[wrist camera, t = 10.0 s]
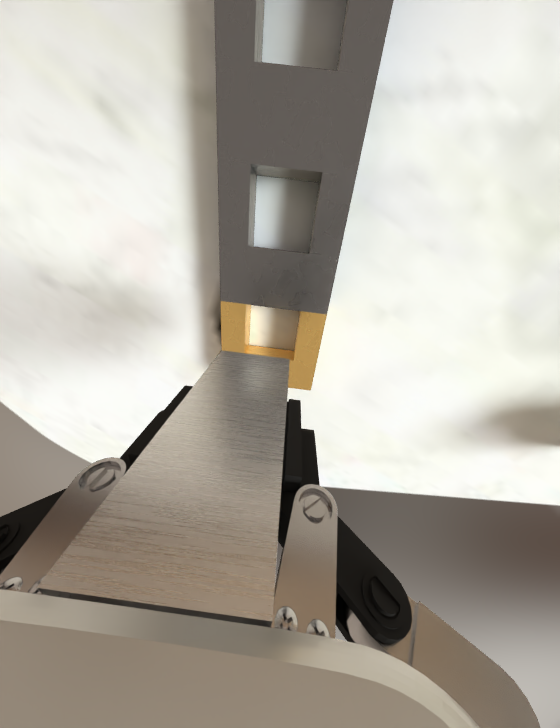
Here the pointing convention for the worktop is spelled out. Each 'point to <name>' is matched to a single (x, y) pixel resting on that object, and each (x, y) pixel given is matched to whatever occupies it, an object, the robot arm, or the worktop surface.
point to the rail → (288, 167)
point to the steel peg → (194, 506)
